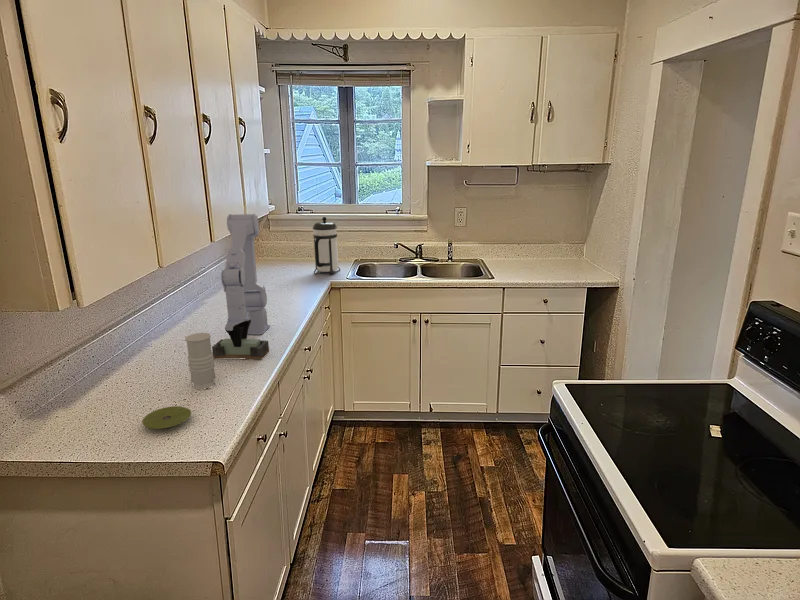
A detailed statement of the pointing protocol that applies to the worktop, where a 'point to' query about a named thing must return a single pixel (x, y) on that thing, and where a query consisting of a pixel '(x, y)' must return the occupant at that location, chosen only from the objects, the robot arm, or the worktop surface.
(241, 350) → the stone
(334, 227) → the coffee press
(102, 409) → the worktop surface
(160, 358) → the worktop surface
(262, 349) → the end cap cradle
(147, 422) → the olive green disc
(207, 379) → the ribbed grey can
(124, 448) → the worktop surface
